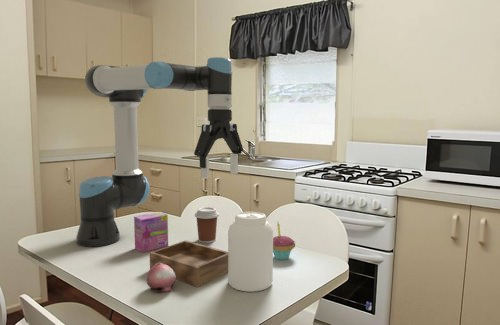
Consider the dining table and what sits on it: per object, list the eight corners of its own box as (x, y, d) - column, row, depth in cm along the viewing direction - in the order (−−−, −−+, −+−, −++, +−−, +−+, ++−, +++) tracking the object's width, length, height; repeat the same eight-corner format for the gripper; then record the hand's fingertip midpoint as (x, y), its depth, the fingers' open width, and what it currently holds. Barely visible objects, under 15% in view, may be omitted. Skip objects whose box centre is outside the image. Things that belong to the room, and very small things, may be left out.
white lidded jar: (278, 289, 110) (280, 218, 107) (234, 295, 106) (234, 221, 104) (264, 272, 122) (264, 207, 119) (223, 277, 118) (223, 210, 116)
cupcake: (263, 257, 134) (264, 222, 133) (279, 251, 141) (280, 217, 139) (284, 263, 129) (284, 227, 127) (300, 257, 135) (300, 222, 133)
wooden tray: (149, 270, 123) (149, 252, 122) (185, 256, 135) (185, 240, 134) (197, 287, 111) (197, 267, 111) (231, 270, 123) (231, 252, 122)
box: (142, 252, 138) (141, 219, 137) (134, 248, 142) (133, 216, 141) (168, 246, 145) (168, 214, 144) (161, 242, 149) (160, 211, 148)
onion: (155, 285, 114) (161, 260, 115) (178, 292, 112) (184, 266, 113) (138, 287, 107) (145, 260, 108) (162, 295, 104) (169, 267, 105)
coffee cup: (192, 243, 148) (191, 211, 147) (198, 236, 157) (197, 205, 156) (216, 244, 147) (216, 212, 146) (221, 237, 156) (221, 206, 155)
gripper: (199, 108, 114) (200, 182, 117) (253, 109, 133) (253, 172, 136) (181, 108, 119) (182, 179, 121) (236, 109, 138) (236, 170, 141)
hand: (220, 176), depth 129 cm, fingers open, 13 cm apart
